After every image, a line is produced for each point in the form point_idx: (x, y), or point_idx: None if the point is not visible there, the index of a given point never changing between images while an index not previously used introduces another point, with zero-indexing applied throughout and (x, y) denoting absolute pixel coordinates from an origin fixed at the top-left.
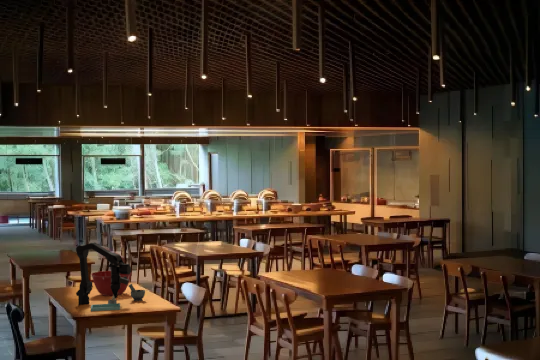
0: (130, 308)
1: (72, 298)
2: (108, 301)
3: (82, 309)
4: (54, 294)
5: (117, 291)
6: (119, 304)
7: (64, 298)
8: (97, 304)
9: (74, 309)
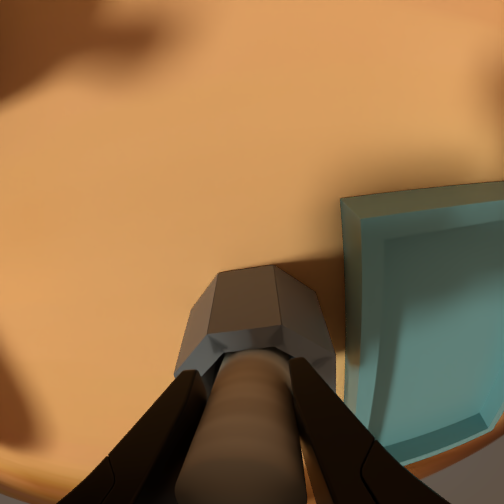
0: (460, 39)
1: (31, 486)
2: None
3: None
4: (8, 495)
5: (422, 487)
6: (471, 214)
7: (45, 500)
8: None
9: None
